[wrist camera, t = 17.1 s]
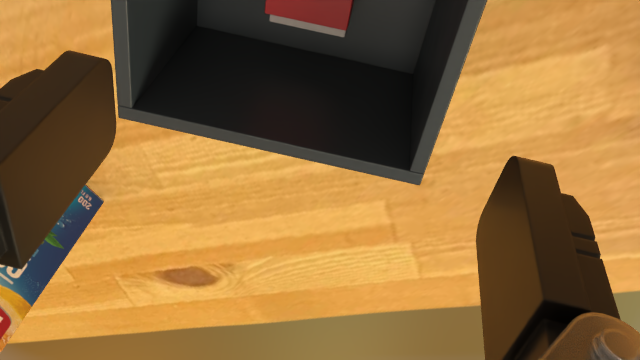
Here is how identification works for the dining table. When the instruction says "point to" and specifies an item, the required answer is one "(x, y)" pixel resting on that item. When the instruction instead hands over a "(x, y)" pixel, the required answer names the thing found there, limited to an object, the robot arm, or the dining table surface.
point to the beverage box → (42, 263)
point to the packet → (312, 14)
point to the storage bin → (297, 77)
